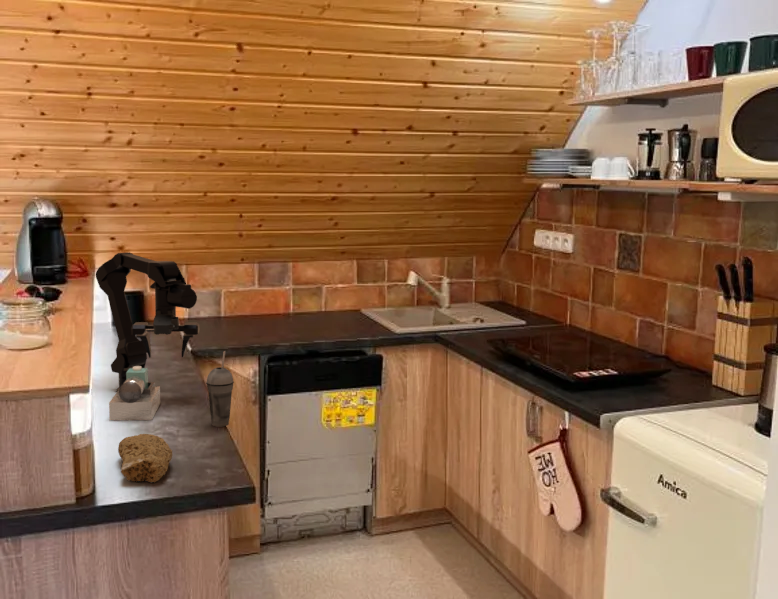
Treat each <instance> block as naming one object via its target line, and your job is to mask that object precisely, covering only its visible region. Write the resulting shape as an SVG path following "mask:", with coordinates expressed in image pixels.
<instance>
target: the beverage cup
mask: <svg viewBox="0 0 778 599" xmlns="http://www.w3.org/2000/svg"><path fill="white" fill-rule="evenodd" d="M225 357H226V350H224V351H223V352H222V358H221V359H222V360H221V367H220V366H218V367H215V368H213V369H211V371H209V373H208V375H207V377H206V381H205V383H206V388H207V392H208V401H209V404H208V405H209V413H210V420H211V426H213V427H217V428H223V427H227V426H229V425H230V424H229V423H230V418H231V417H230V416H231V405H232V392H233V389H234V384H235V382H234V377H233V375H232V372H231V371H230V370H229V369H227V368H226V367H224V365H225V359H226V358H225Z"/></svg>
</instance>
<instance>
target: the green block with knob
mask: <svg viewBox="0 0 778 599" xmlns="http://www.w3.org/2000/svg"><path fill="white" fill-rule="evenodd" d="M132 376H137V377H140V378H141V379H142V380H143V381H144V383H145V388H144V389H148V382H149V371H148V367H145V368H142V367H141V366H133V368H130V369H129V370H128V371H127V372H126V380H127V379H128V378H129V377H132Z"/></svg>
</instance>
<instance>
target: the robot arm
mask: <svg viewBox="0 0 778 599" xmlns="http://www.w3.org/2000/svg"><path fill="white" fill-rule="evenodd" d="M131 270H132V271H136V272H139V273H143V274H145V275H147V277H148V279H150V280H152V281H153V282H152V283H151V285H150V286H149V287H150V289H154V297H155V298H154V306H155V309H154V311H155V315H154V317H153V324H149V323H148V321H145V322H144V321H141V322H139V321H138V322H137V321H136V322H135V323H134V324H133V321H132V317H131V314H130V309H129V305H128V301H127V298H126V292H125V290H126V286H127V283H128V279H127V276H128V275H129V274H130V273H131ZM95 278H96V281H97V284H98V286H99V288H100V290H102V292H103V293H105V295H106V296H107V299H108V302H109V307H110V311H111V315H112V318H113V322H114V327H115V330H116V334H117V339H118V343H117V346H116V349H115V353H116V354H115V355H116V358H114V360H113V361H112V362H111V364H110V369H111V373H112V372H113V373H116V374H118V387H117V389H116V390H115V392H116V393H117V391H118V390H119V389H120V387H121V386H122V385H123V384H124V383H125V381H126V372H127V371H128V370H129V369H130V368H133V366H141V367H142V368H146V363H147V359H148V358H149V359H150V358H152V346H151V336H150V335H151V334H150V333H151V332H152V333H153V334H154V335H168V336H169V335H170V334H172V333H173V332H179V333H180V332H183V335H182V346H181V353H180V354H181V358H184V356H185V353H186V350H187V346H188V343H189V341H190V339H191V338H194V337H195V335H199V333H200V332H201V331H200V330H201V329H200V323H199V322H197V321H192V322H191V321H188V322H187V321H186V322H185V323H184V324H180V319H179V316H177V313H176V312H177V308H181V309H192V308H194V307H195V305H196V304H197V301H198V300H197V299H198V295H197V292H195V290H194V289H193V288H192V285H191V284H187V282H186V279H185V277H184V275H183V274H182V272H181V269H180V267H179V265H178V263H177V262H175V261H172V260H154V259H151V258H150V259H149V258H146V257H143V256H141V255H137V254H133V253H131V252H129V251H128V252H118V253H116V254H115V255H114V256H113V257H112V258H110V259H109V260H107V261H105V262H103V263H102V264H101V265H100V266H99V267H98V268H97V270H96V271H95Z"/></svg>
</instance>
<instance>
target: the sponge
mask: <svg viewBox="0 0 778 599" xmlns="http://www.w3.org/2000/svg"><path fill="white" fill-rule="evenodd" d="M117 449H118V450H117V451H118V455H119V458H120V459H121V460H122V464H121V467H120V473H121V474H122V476H123V477H124V478H125V479H126V480H127V481H132V482H135V481H136V482H137V481H140V482H142V481H145V480H146V481H148V482H147V483H149V482H154V483H156V482H158V481H159V480H161V479H162V478H163V476H165V474H166V472H167V471H168V468H169V464H170V462H171V461H172V459H173V450H172V449H171V448H170V446H169V444H168V443H167V442H166V441H165V439H164V438H162V437H160V436H158V435H155V434H152V433H151V434H150V433H140V434H139V433H138V434H137V435H136V434H135V435H131V436H127V437H124V438H123V439H121V441H120V442H118V448H117ZM146 481H145V482H146Z"/></svg>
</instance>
